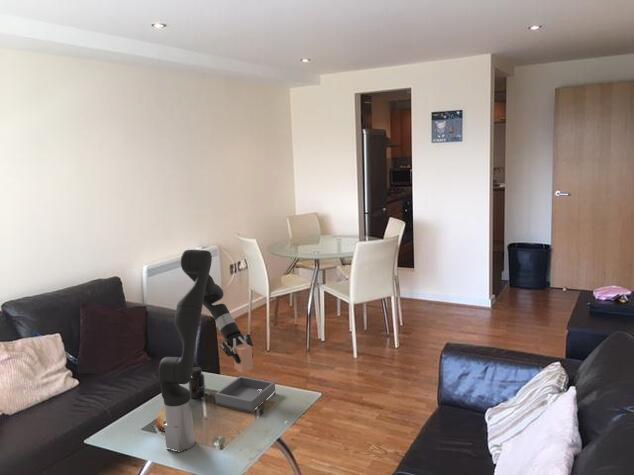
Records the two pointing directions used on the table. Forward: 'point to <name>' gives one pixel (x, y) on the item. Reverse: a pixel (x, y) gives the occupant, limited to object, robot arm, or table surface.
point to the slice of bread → (161, 420)
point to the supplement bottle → (197, 383)
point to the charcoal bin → (244, 394)
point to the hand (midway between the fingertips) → (245, 360)
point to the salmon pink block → (244, 358)
